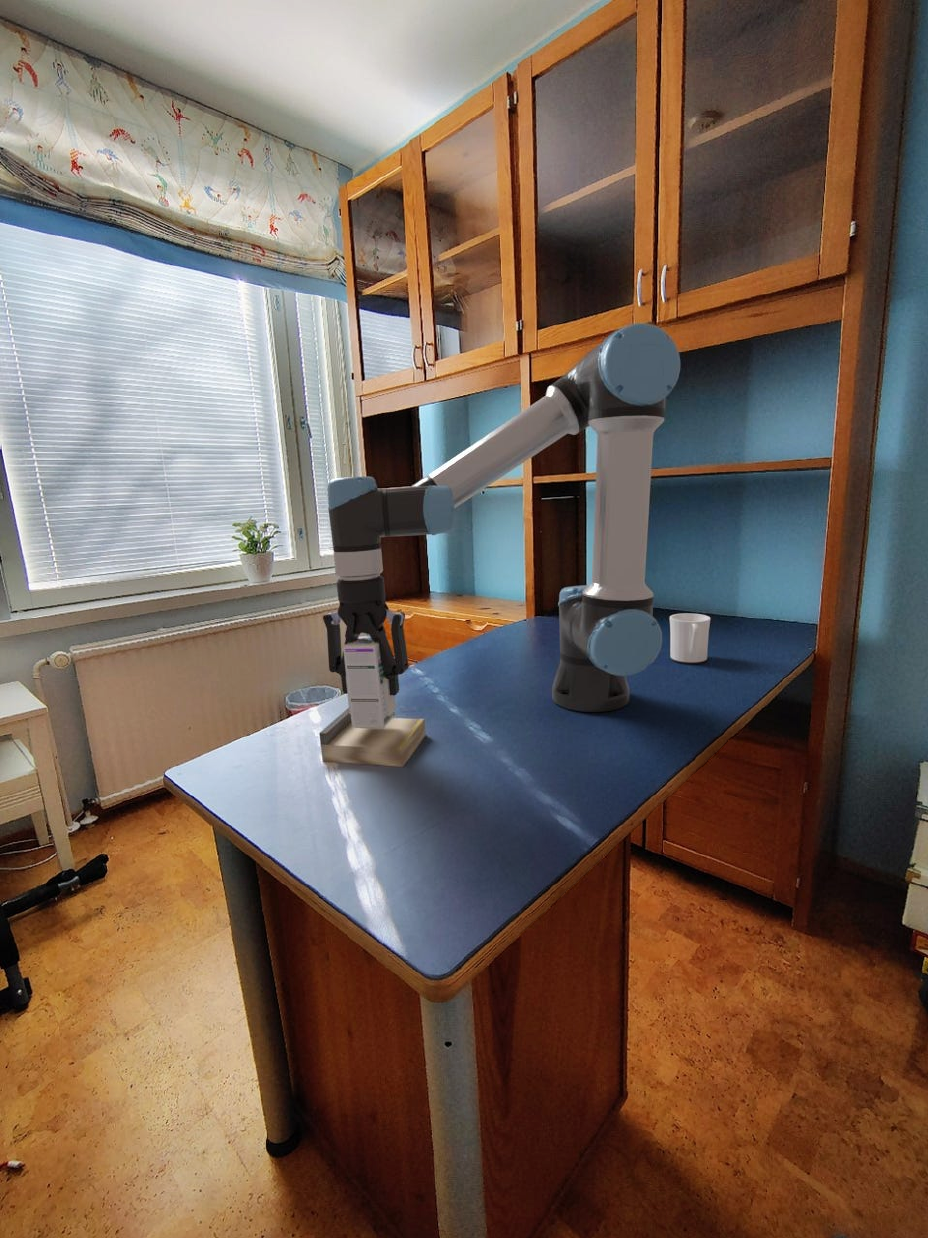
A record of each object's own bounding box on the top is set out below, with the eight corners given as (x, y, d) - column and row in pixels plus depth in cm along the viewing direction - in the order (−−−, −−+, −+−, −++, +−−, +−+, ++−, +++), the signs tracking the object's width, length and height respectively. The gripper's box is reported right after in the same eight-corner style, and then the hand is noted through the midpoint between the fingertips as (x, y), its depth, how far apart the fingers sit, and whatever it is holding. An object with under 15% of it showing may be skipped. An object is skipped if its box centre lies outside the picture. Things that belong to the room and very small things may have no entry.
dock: (425, 735, 102) (423, 708, 101) (402, 766, 91) (400, 737, 90) (353, 731, 106) (350, 705, 104) (322, 761, 94) (319, 733, 93)
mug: (665, 654, 141) (666, 613, 139) (703, 654, 140) (704, 612, 137) (674, 668, 130) (676, 624, 128) (715, 668, 129) (717, 623, 127)
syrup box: (384, 729, 94) (377, 644, 91) (350, 728, 95) (342, 644, 92) (395, 716, 99) (388, 635, 96) (363, 715, 100) (355, 635, 97)
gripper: (423, 571, 93) (432, 705, 98) (317, 573, 97) (332, 701, 103) (407, 579, 86) (418, 723, 91) (295, 580, 90) (311, 718, 96)
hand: (372, 711), depth 97 cm, fingers closed on syrup box, 6 cm apart
